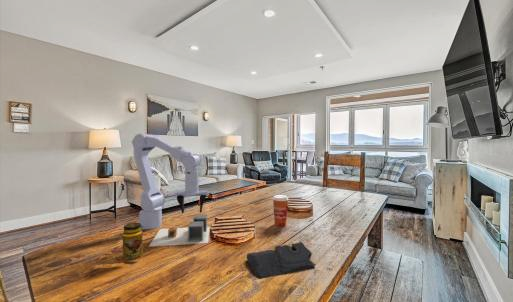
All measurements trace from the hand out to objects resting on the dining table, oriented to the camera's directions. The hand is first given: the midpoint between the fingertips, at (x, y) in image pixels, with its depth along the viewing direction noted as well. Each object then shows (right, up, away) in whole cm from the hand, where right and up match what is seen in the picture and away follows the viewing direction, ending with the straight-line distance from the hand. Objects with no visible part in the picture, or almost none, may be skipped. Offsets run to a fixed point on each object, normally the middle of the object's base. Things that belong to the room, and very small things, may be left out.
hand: (191, 212), depth 104 cm
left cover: (+4, -9, -8) cm, 12 cm away
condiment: (-15, -10, -22) cm, 29 cm away
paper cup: (+40, -9, +11) cm, 43 cm away
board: (-3, -10, -5) cm, 11 cm away
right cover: (+3, -8, +2) cm, 9 cm away
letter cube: (-6, -9, -6) cm, 12 cm away
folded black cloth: (+37, -11, -24) cm, 45 cm away
